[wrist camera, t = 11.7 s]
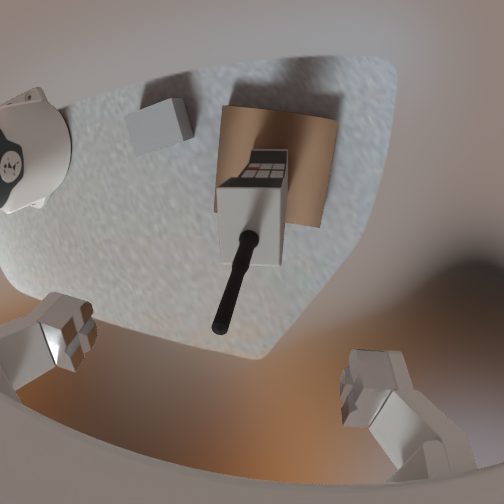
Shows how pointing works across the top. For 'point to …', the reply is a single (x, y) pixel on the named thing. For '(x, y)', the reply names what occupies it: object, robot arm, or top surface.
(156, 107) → the grey plastic box
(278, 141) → the walnut stand
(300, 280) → the top surface
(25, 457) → the robot arm
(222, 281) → the top surface
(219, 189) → the vintage mobile phone
